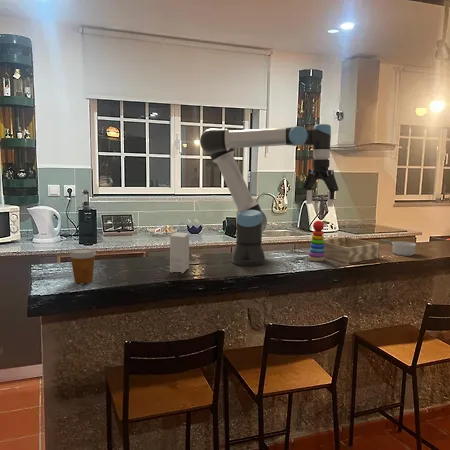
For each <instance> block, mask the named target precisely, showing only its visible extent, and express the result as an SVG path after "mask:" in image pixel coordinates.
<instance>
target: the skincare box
mask: <svg viewBox="0 0 450 450" xmlns="http://www.w3.org/2000/svg"><path fill="white" fill-rule="evenodd" d="M169 237H170V238H169V240H170V241H169V272H170V273H173V272H181V273H180V274H185V273H186V272H187V271H188V270H187V269H188V268H189V266H190V233H189V232H178V231H177V232H176V231H175V232H174V233H173V234H171V235H169ZM186 270H187V271H186ZM185 271H186V272H185ZM184 272H185V273H184Z"/></svg>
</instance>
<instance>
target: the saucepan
mask: <svg viewBox="0 0 450 450" xmlns="http://www.w3.org/2000/svg"><path fill="white" fill-rule="evenodd" d="M380 241H383V242H386V243H389V244H390V245H391V246H392V251H391V252H392V253H394V254H395V255H397V256H404V257H410V256H414V255H415V254H416V247H417V243H415V242H410V241H391V240H388V239H385V238H380Z"/></svg>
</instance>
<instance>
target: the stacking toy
mask: <svg viewBox="0 0 450 450" xmlns="http://www.w3.org/2000/svg"><path fill="white" fill-rule="evenodd" d="M324 227H325V223H324V221H321V220H315V221H314V222H313V225H312V228H313V229H314V230H313V231H312V235H311V240H310V248H309V252H308V256H307V259H308V260H309V261H312V262H324V261H325V260H326V257H325V256H324V255H325V253H324V251H325V249H324V244H323V243H324V240H323V239H325V237H324V231H323V230H324Z"/></svg>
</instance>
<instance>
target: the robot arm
mask: <svg viewBox="0 0 450 450" xmlns="http://www.w3.org/2000/svg"><path fill="white" fill-rule="evenodd" d="M331 138H332V126H331V125H330V124H327V123H326V124H325V123H321V124H320V123H319V124H318V123H317V124H315V125H314V126H313V128H305V127H303V126H300V125H296V126H294V127H293V126H292V127H274V128H257V129H256V128H255V129H241V130H240V129H239V130H238V129H237V130H229V129H228V128H213V127H212V128H208V129H206V130H204V131H203V132H202V134H201V135H200V138H199V143H200V147H201V148H202V150H203V151H204V152H206V153H208V154H209V155H208V156H209V157H210V159H211V161H212V163H215V164H217V166H218V167H217V168H219V171H220V173H221V176H222V178H223V180H224V182H225V185H226V186H227V188H228V191H229V193H230V195H231V197H232V199H233V202H234V204H235V206H236V208H237V210H236V217H235V218H236V219H235V221H236V226H235V227H236V230H235V231H236V232H235V234H236V236H235V237H236V238H235V240H236V241H235V247H234V250H233V254H232V257H231V262H232V263H233V264H234V265H238V266H243V267H244V266H245V267H246V266H247V267H254V266H255V267H256V266H261V265H264V264H265V263H266V257H265V253H264V249H263V244H262V240H263V232H264V231H265V229H266V228H267V222H268V221H267V216H266V214H265V212H263V211H262V209H261V207H260V204H259V203H258V202H256V201H254V198H253V197H252V195H251V191H250V190H249V188H248V185H247V184H246V181H245V180H244V177H243V175H242V172H241V171H240V168H239V165H238V164H237V161H236V159H235V157H234V155H235V150H234V149H238V148H239V149H241V148H242V149H243V148H258V147H261V148H262V147H277V146H293V147H297V146H298V147H299V146H300V147H304V146H311V147H312V146H313V149H312V150H313V151H312V158H313V160H312V168H313V169H312V168H308V172H307V173H308V174H307V175H306V178H305V180H304V183H303V186H302V188H303V189H304V190H305V197H306V201H305V202H306V205H310V204H311V205H312V204H313V203H312V202H313V189H312V188H313V187H314V185H315V184H316V183H317V181H318V180H322V181H323V182H324V184H325V185H326V187H327V190H328V192H327V206H326V207H329V208H332V207H334V200H335V193H336V192H338V191H339V187H338V183H337V180H336V177H335V171H334V169H329V167H330V162H331V161H330V157H331V156H330V155H331Z"/></svg>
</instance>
